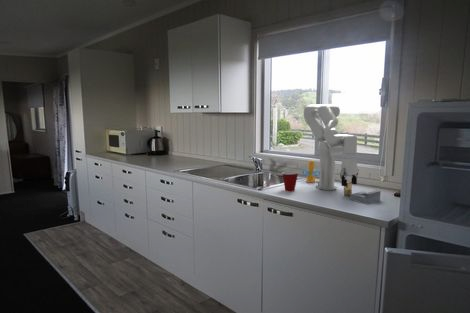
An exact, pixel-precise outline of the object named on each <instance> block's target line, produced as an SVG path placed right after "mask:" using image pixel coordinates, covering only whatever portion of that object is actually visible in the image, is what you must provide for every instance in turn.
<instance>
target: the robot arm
mask: <svg viewBox="0 0 470 313" xmlns="http://www.w3.org/2000/svg"><path fill="white" fill-rule="evenodd" d="M340 110H341V109H340V107H339V106H338V105H336V104H334V103H333V104H329V103H328V104H325V103H324V104H309V105H306V106H305V107H304V108H303V118H304V121H305V123H306V124H307V125H308V127H309V128H310V131H311V132H312V134H313V136H314V138H315V139H316V141H317V142H319V143H318V152H319V172H320V175H319V177H318V178H319V179H315V182H314V183H315V184H316V189H318V190H322V191H335V190H337V188H338V187H337V186H336V185H335V175H336V174H335V171H336V161H335V158H334V155H342V159H341V165H340V171H339V175H340V179H341V186H342V187H344V186H347V182H348V179H347V178H348V177H351V181H350V182H351V183H352V185H357V183H358V182H357V181H358V180H357V179H358V175H359V171H360V170H359V169H358V161H357V157H358V155H357V154H358V153H357V152H358V151H357V150H358V145H357V144H358V138H357V135H356V134H355V135H353V134H344V133H343V134H341V133H340V132H339V131H338V129H337V128H335V127H337V126H338V124H339V120H338V118H337V117H339V116H340V113H341V111H340ZM319 118H320V119H321V120H320V119H319Z"/></svg>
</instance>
